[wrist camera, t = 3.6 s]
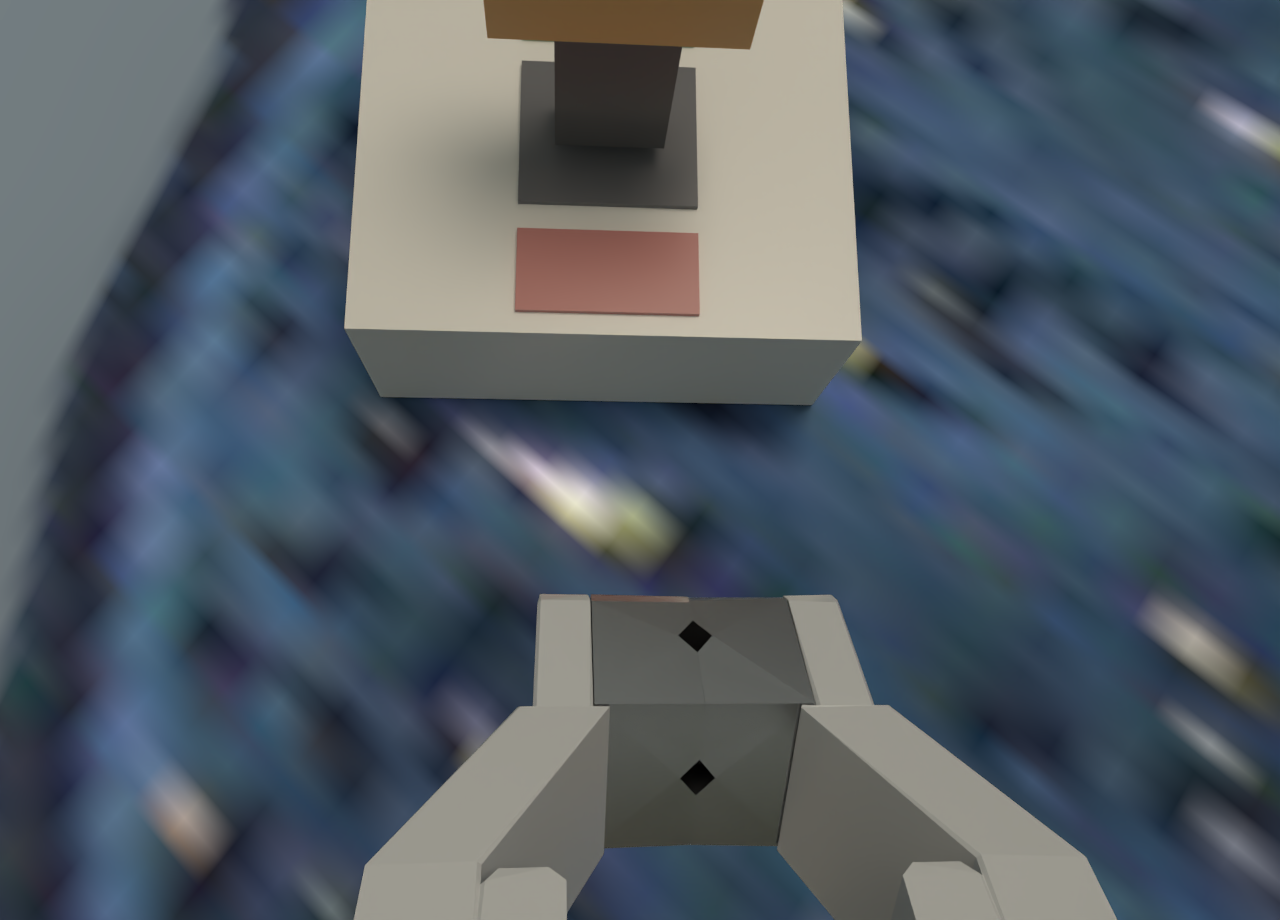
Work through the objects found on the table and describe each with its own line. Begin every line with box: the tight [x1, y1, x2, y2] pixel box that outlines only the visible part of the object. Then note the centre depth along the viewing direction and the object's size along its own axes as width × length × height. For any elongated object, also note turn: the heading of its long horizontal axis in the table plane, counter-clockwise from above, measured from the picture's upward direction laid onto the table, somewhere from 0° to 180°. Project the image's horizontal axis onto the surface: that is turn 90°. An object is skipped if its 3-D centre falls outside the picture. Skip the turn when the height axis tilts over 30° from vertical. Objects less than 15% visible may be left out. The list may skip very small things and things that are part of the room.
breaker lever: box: [483, 0, 764, 149], centre depth 25 cm, size 2×6×9 cm, turn 90°
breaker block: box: [344, 0, 862, 405], centre depth 33 cm, size 12×14×6 cm
